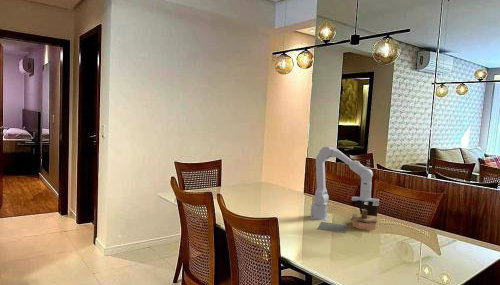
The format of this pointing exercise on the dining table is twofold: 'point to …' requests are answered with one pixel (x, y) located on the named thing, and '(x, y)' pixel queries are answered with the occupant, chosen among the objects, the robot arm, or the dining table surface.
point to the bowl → (363, 225)
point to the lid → (364, 217)
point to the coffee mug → (372, 208)
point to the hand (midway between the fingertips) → (364, 214)
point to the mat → (332, 227)
